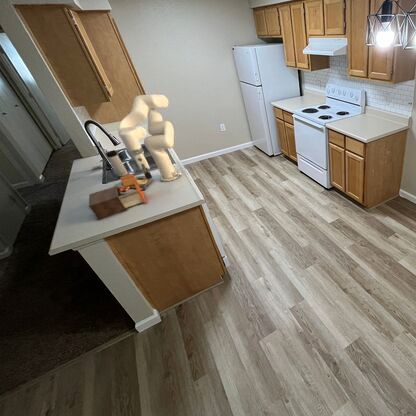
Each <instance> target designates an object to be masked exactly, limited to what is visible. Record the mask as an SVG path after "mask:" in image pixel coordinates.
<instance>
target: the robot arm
mask: <svg viewBox="0 0 416 416" xmlns="http://www.w3.org/2000/svg"><path fill="white" fill-rule="evenodd" d="M169 103H170V102H169V99H168V97H167V96H166V95H164V94H154V93H150V94H140V95H139V94H138V95H137V96H135V97H134V100H133V103H132V108H131V112H129V113H128V114H127V115H126V116H124V118H123V119H122V120H121V121H120V122H119V126H118V129H117V130H118V131H117V132H118V136H119V138H120V139H121V141H122V143H123V145H124V147H125V149H126V151H127V152H128V155H129V156H130V157H133V160H134V161H135V163H136V165H137V167H138V168H139V169H140V171H142V172H143V176H145V177H146V178H147V179H150V178H152V179H153V176H152V174H151V172H150V171H149V170H150V169H151V167H150V164H149V163H148V161H147V158H146V156H145V155H144V153H145V151H144V149H143V147H142V145H141V143H140V140H143V144H144V146H145V148H146V149H147V151H148V152H149V153H150V156H151V157H152V159H153V161H154V162H155V165H156V167H157V169H158V171H159V173H160V176H161V177H160V181H162V182H171V181H174V180H176V179H178V178H179V177H180V176H182V172H181V171H180V170H179V171H178V170H177V169H175V167H174V166H173V162H172V161H171V157H169V156H170V155H169V154H168V152H167V151H166V150H169V149H172V148H173V147H174V143H175V129H174V126H173V124H172V122H170V121H169V120H163V116H162V115H161V113H159V112H158V110H159V109H166V108H168V107H169ZM145 121H147V130H146V128H144V127H143V126H139V125H138V124H141V123H143V122H145ZM137 125H138V126H137ZM147 132H148V133H147ZM148 134H149V135H148ZM147 135H148V136H147Z"/></svg>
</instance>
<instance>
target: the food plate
mask: <svg viewBox="0 0 416 416" xmlns="http://www.w3.org/2000/svg"><path fill="white" fill-rule="evenodd" d="M135 177H136V179H137V182H138V184H139V186H142V185H144V186H145V187H146V186H148V185H149V184H150V183H151V182H152V181H153V177H152V178H150V179H147V178H146V177H145V175H137V176H135ZM115 186H117V188H118V190H119V191H120V193H121V194H122V195H125V194H128V193H131V192H134V191H137V189H136V186H135V184H131V185H128V186H124V185H123V183H122V181H120V182H118V183H117V184H115V185H114V186H113V187H115ZM141 189H143V188H142V187H141Z"/></svg>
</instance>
